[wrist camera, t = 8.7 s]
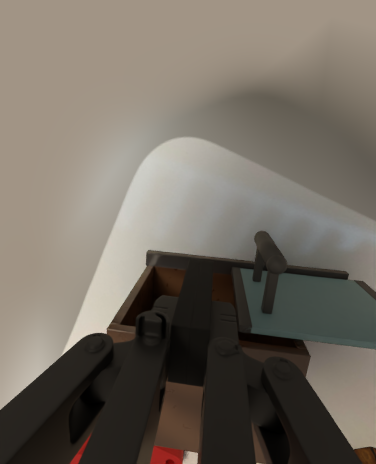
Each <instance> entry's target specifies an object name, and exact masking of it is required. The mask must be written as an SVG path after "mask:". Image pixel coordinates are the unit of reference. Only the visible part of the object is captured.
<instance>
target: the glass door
mask: <svg viewBox="0 0 376 464" xmlns="http://www.w3.org/2000/svg"><path fill="white" fill-rule="evenodd" d="M254 240H255V243H256V245H257V252H256V258H255V264H254V270H252V269H243V268H238V267H232V270H231V274H232V282H233V290H234V299H235V307H236V315H237V323H238V331H239V332H241V333H249V334H251V333H253V334H261V335H269V336H276V337H284V338H292V339H299V340H307V341H315V342H323V343H330V344H338V345H346V346H354V347H361V348H369V349H376V292H375V291H374V290H373V289H371V288H370V287H369V286H368V285H367V284H366V283H364V282H363V281H356V280H354V281H352V280H343V279H334V278H325V277H316V276H307V275H297V274H288V273H284V272H285V271H286V269H287V262H286V259H285V258H284V256H283V255H282V253H281V252H280V250H279V249H278V247H277V246H276V244H275V243H274V241H273V240H272V238H271V237H270V235H269V234H268V233H267V232H265V231H259V232H257V233H256V235H255V237H254ZM264 263H265V265H266V267H267V269H268V271H263V265H264Z"/></svg>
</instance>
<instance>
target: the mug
mask: <svg viewBox="0 0 376 464" xmlns="http://www.w3.org/2000/svg"><path fill="white" fill-rule="evenodd" d="M354 451H355V453H356V454H357V456H358V457H359V459H360V460H361V462H362V463H363V464H376V449H375V448H373V447H367V448H361V449H355V450H354Z"/></svg>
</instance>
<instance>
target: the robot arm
mask: <svg viewBox="0 0 376 464" xmlns="http://www.w3.org/2000/svg"><path fill="white" fill-rule="evenodd" d="M213 264H214V262H212V261H203V260H194V259H189V262H188V266H187V269H186V273H185V276H184V280H183V284H182V287H181V291H180V294H179V297H173V296H165V295H162V296H160V297H159V298H158V299H156V301H155V303H154V306H153V308H152V310H151V311H146V312H143V313H141V314H139V315H138V316H137V317H136V331H135V338H134V339H133V340H130V341H126V342H118V343H113V339H112V337H111V336H109V335H107V334H104V333H94V334H90V335H87V336H85V337H84V338H82V339H81V340H80V341H79V342H77V343H76V344H75V345H74V346H73V347H72V348H71V349H69V350H68V351H67V352H66V353H65V354H64V355H63V356H61V357H60V358H59V359H58V360H57V361H56V362H55V363H53V364H52V365H51V366H50V367H49V368H48V369H47V370H45V371H44V372H43V373H42V374H41V375H40V376H39V377H38V378H36V379H35V380H34V381H33V382H32V383H31V384H30V385H28V386H27V387H26V388H25V389H24V390H23V391H22V392H21V393H19V394H18V395H17V396H16V397H15V398H14V399H12V400H11V401H10V402H9V403H8V404H7V405H6V406H4V407H3V408H2V409H1V410H0V464H70V463H71V461H72V460H73V458H74V457H75V456H76V454H77V453H78V451H79V450H80V449H81V447H82V446H83V444H84V443H85V442H86V440H87V439H88V437H89V436H90V435H91V436H90V438H89V440H88V443H87V445H86V447H85V449H84V451H83V454H82V456H81V458H80V460H79V463H78V464H150V462H151V457H152V452H153V448H154V443H155V439H156V434H157V430H158V425H159V420H160V416H161V411H162V407H163V402H164V398H165V392H166V381H167V382H173V383H179V384H186V385H192V386H199V387H203V395H202V404H201V413H200V414H201V421H200V435H199V449H198V463H197V464H256V458H255V449H254V441H253V432H252V424H251V422H252V423H253V427H254V430H255V433H256V436H257V438H258V441H259V444H260V447H261V450H262V452H263V455H264V458H265V461H266V464H363V463H362V462H361V460H360V459H359V457H358V456H357V454H356V453H355V451H354V450H353V448H352V447H351V445H350V444H349V442H348V441H347V439H346V438H345V436H344V435H343V433H342V432H341V430H340V429H339V427H338V426H337V424H336V423H335V421H334V420H333V418H332V417H331V415H330V414H329V412H328V411H327V409H326V408H325V406H324V405H323V403H322V402H321V400H320V399H319V397H318V396H317V394H316V393H315V391H314V390H313V388H312V387H311V385H310V384H309V382H308V381H307V379H306V378H305V376H304V375H303V373H302V372H301V370H300V369H299V368H298V367H297V366H296V364H294V363H293V362H291V361H290V360H288V359H285V358H283V357H276V356H274V357H269V358H267V359H266V360H265V361H264V363H263V362H260V361H258V360H255V359H253V358H251V357H249V356H248V355H247V354H245V353H244V352H243V350H242V347H241V346H240V345H239V339H238V329H237V320H236V310H235V308H234V307H233V305H232V304H231V303H228V302H220V301H212V285H213ZM167 377H168V380H167ZM91 433H92V434H91Z"/></svg>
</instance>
